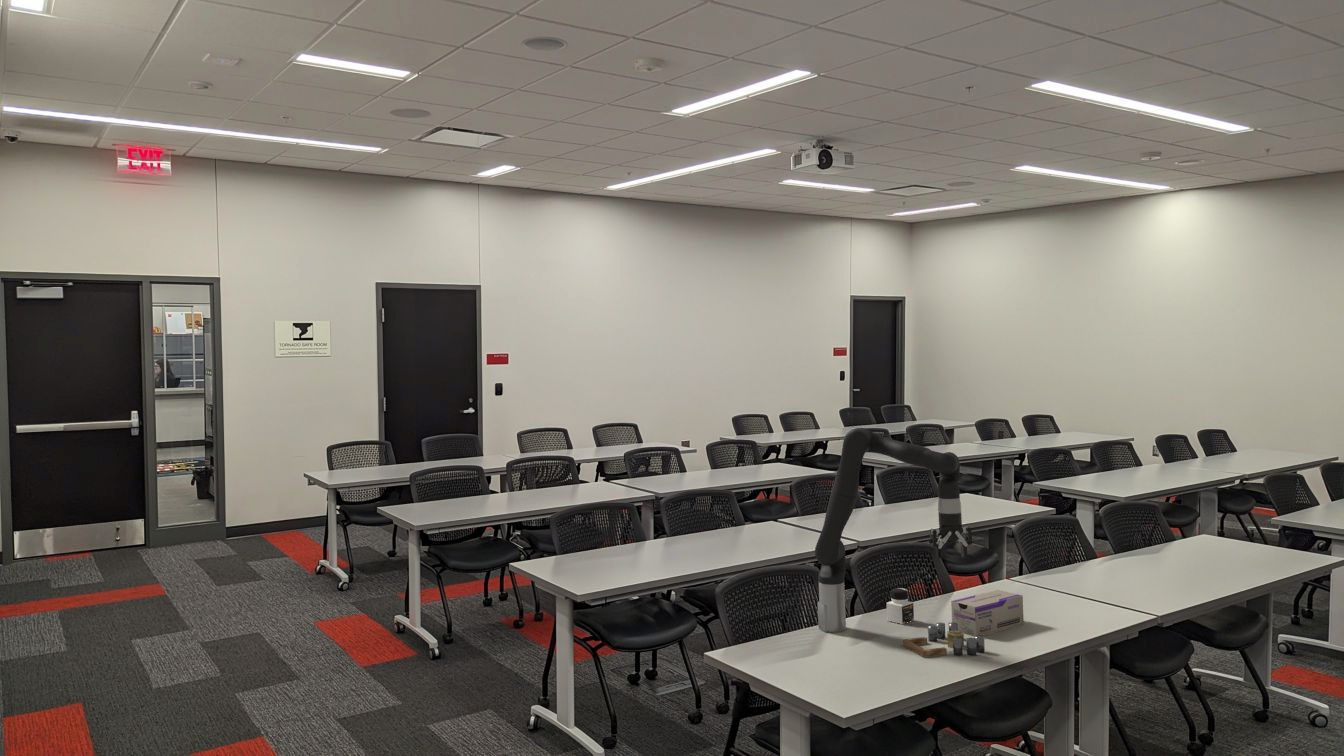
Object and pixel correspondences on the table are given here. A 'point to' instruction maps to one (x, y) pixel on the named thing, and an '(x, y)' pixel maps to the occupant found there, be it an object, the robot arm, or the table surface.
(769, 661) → the table surface
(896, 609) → the medicine bottle
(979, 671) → the table surface
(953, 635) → the brass nut
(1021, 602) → the surgical sutures box
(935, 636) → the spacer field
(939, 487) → the robot arm
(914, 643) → the walnut bay
